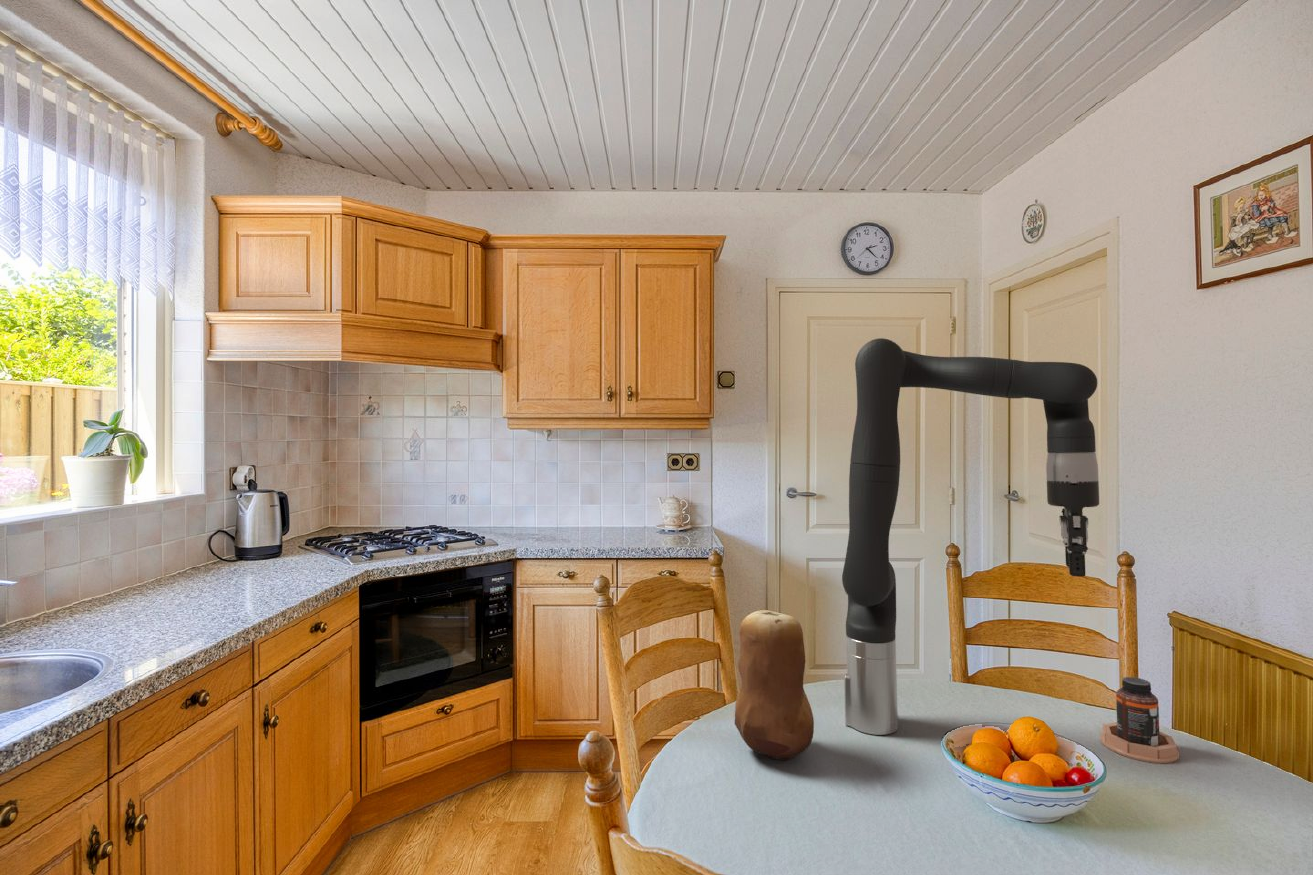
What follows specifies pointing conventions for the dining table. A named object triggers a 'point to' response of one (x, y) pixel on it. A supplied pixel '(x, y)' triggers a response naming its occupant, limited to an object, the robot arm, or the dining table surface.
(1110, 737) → the coaster dish
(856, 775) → the dining table surface
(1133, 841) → the dining table surface
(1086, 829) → the dining table surface
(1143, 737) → the supplement bottle
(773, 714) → the butternut squash
